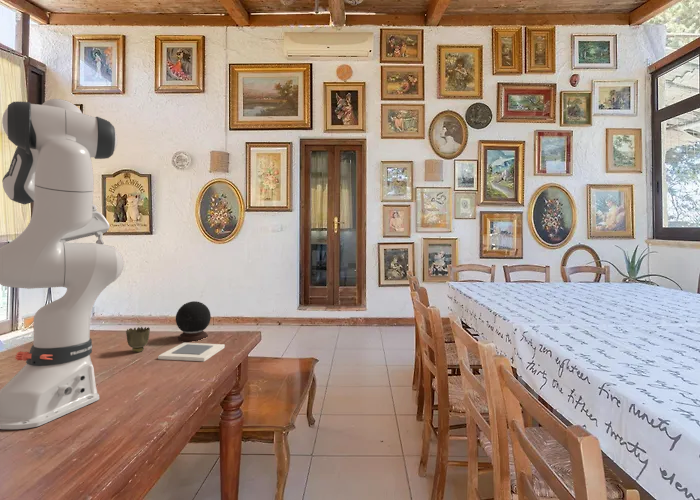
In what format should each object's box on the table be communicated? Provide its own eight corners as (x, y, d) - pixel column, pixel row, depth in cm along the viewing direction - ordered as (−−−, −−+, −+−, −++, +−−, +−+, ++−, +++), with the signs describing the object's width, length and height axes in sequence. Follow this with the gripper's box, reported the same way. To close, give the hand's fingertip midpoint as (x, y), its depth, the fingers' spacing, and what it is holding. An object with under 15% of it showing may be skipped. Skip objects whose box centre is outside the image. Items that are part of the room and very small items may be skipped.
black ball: (175, 335, 154) (175, 299, 154) (209, 332, 159) (209, 298, 159) (175, 343, 142) (175, 305, 142) (211, 340, 148) (212, 303, 147)
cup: (148, 353, 130) (148, 330, 129) (124, 355, 127) (124, 332, 127) (151, 347, 136) (151, 326, 136) (128, 349, 134) (128, 327, 134)
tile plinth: (204, 361, 122) (204, 356, 122) (158, 359, 124) (158, 354, 124) (224, 347, 138) (224, 343, 138) (183, 345, 140) (183, 341, 140)
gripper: (32, 215, 116) (55, 253, 116) (100, 204, 133) (119, 237, 133) (27, 224, 119) (49, 261, 119) (93, 212, 136) (113, 244, 136)
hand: (87, 248), depth 126 cm, fingers open, 8 cm apart
